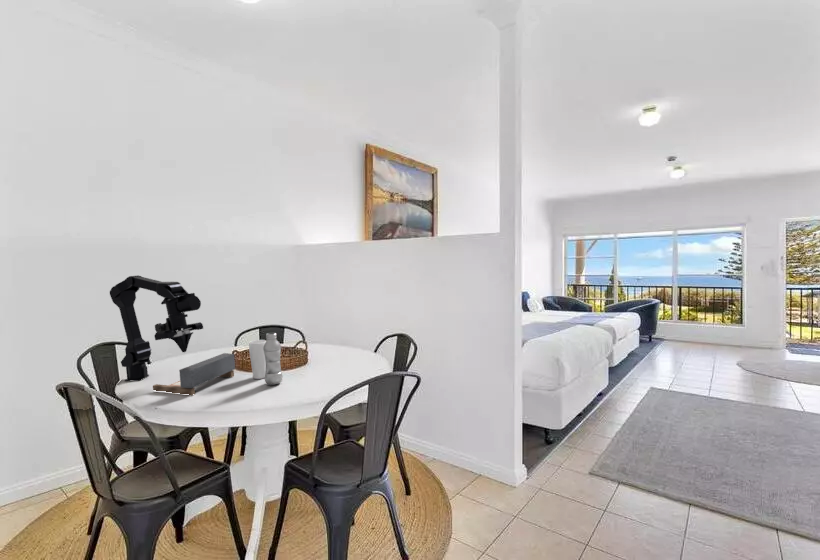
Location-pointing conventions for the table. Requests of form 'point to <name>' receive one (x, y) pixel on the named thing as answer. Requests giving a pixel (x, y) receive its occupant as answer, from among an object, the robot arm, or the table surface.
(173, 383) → the label tile
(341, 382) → the table surface
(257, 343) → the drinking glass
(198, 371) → the arm
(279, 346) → the plastic bottle
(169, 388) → the rails
